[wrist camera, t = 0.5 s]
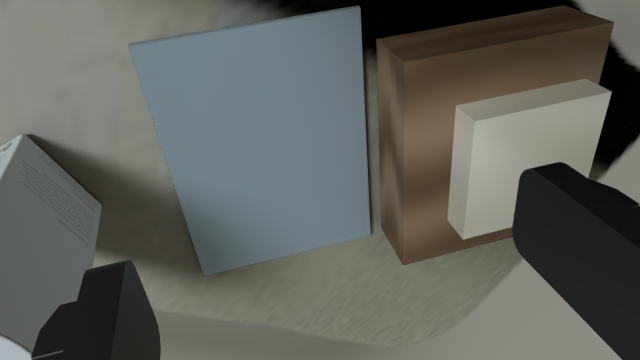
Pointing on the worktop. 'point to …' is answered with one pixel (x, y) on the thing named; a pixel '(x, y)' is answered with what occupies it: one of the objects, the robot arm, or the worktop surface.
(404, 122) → the stand
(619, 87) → the worktop surface
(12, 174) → the skincare box
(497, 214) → the coaster
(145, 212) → the worktop surface
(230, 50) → the mat
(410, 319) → the worktop surface
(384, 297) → the worktop surface
